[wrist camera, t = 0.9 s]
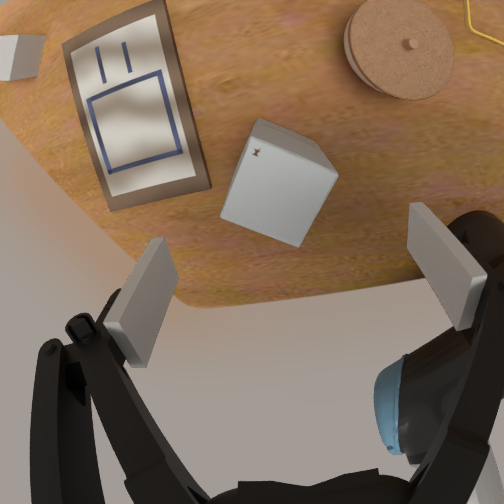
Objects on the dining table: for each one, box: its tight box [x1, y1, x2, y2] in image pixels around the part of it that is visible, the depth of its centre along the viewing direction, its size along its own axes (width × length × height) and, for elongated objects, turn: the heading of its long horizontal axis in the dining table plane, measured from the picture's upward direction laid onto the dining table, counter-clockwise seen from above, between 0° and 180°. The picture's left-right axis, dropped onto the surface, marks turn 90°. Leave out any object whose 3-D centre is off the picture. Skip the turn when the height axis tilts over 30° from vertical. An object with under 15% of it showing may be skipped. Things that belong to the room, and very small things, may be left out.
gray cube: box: [0, 35, 47, 81], centre depth 25 cm, size 6×6×6 cm
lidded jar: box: [344, 0, 454, 100], centre depth 23 cm, size 11×11×9 cm
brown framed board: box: [62, 0, 212, 212], centre depth 32 cm, size 24×14×1 cm, turn 12°
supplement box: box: [220, 117, 339, 248], centre depth 29 cm, size 7×7×13 cm
